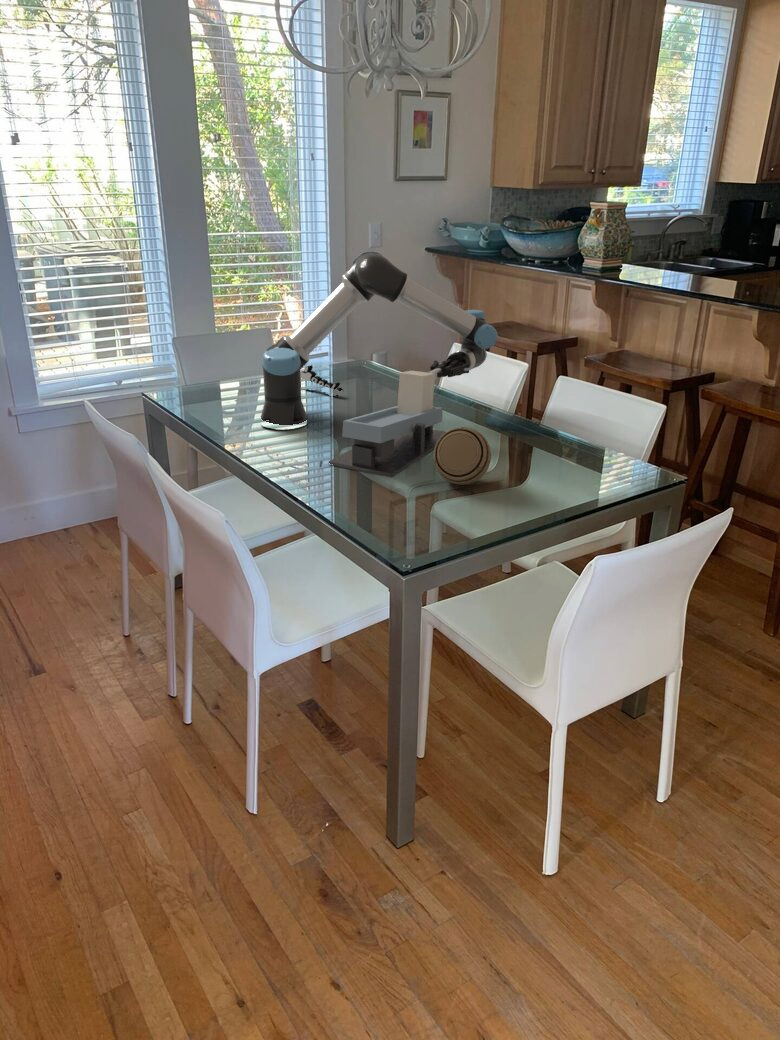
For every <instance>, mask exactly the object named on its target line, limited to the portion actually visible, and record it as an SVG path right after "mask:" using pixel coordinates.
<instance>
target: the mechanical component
mask: <svg viewBox="0 0 780 1040" xmlns="http://www.w3.org/2000/svg"><path fill="white" fill-rule="evenodd" d="M445 432H446V433H444V434H443V435H442V436H441V437H440V438H439V440H438V441H437V443H436V445H435V448H434V450H433V456H432V458H433V462H434V463H433V464H434V467H435V469H436V471H437V472H438V474H439V475H440V476H441V477H442V478H443V479H444V480H446V481H447V482H449V483H452V484H453V485H459V486H466V485H470V484H473V483H476V482H477V481H479V480H480V479H481V478H483V476H485V475H486V473H487V471H488V470H489V467H490V465H491V462H492V461H491V460H492V450H491V447H490V444H489V442H488V440H487V439H486V437H485V436H484V435H483V433H481V432H479V431H478V430H476V429H475V428H474V429H473V428H470V427H466V426H460V427H454V428H450V429H449V430H447V431H445Z"/></svg>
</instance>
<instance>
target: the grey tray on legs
mask: <svg viewBox="0 0 780 1040" xmlns="http://www.w3.org/2000/svg"><path fill="white" fill-rule="evenodd" d="M397 407H398V405H395V406H392V407H388V408H384V409H381V410H377V411H374V412H371V413H370V412H369V413H366V414H362V415H360V416H356V417H353V418H349V419H348V418H347V419H345V420H343V421H342V430H341V431H342V432H341V433H342V434H341V436H342V437H343V438H347V439H353V445H355V444H360V445H365V446H371V447H375V457H379V458H383V457H385V456H388V455H391V454H393V453H394V439H395V438H397V437H400V436H403V435H406V434H409V433H412V432H414V431H415V425H416V424H418V423H423V424H425V428H426V427H429V426H431V425H433V426H435V425H436V424H440V423H442V422H443V414H444V413H443V408H444V407H442V406H441V407H440V406H434V405H433V408H432V410H429V411H425V412H422V413H419V414H416V415H408V414H402V413H397Z"/></svg>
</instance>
